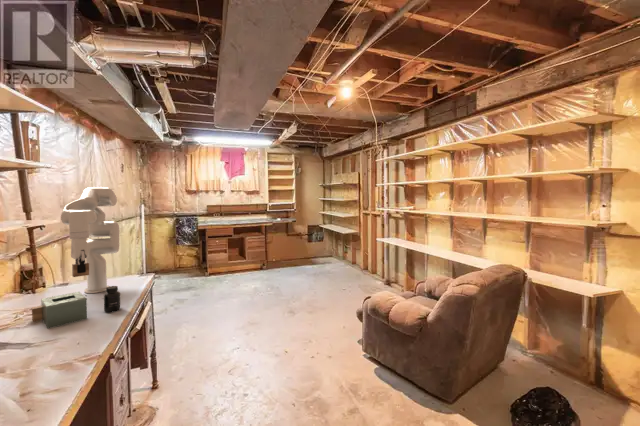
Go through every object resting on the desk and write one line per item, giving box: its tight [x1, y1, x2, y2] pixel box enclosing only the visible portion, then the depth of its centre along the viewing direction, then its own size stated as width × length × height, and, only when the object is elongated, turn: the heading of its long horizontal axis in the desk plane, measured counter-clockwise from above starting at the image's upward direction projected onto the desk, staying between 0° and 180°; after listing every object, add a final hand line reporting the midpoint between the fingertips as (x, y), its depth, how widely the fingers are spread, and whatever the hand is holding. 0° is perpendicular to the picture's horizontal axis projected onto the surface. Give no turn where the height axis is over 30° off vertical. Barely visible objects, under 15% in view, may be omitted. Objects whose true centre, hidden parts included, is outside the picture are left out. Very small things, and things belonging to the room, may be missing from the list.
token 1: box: [31, 305, 43, 322], centre depth 140 cm, size 3×6×6 cm, turn 140°
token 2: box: [71, 261, 89, 278], centre depth 149 cm, size 3×6×6 cm, turn 141°
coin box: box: [40, 291, 88, 329], centre depth 140 cm, size 14×14×10 cm
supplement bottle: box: [103, 285, 121, 314], centre depth 151 cm, size 7×7×12 cm
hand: (80, 271), depth 149 cm, fingers closed on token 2, 2 cm apart
